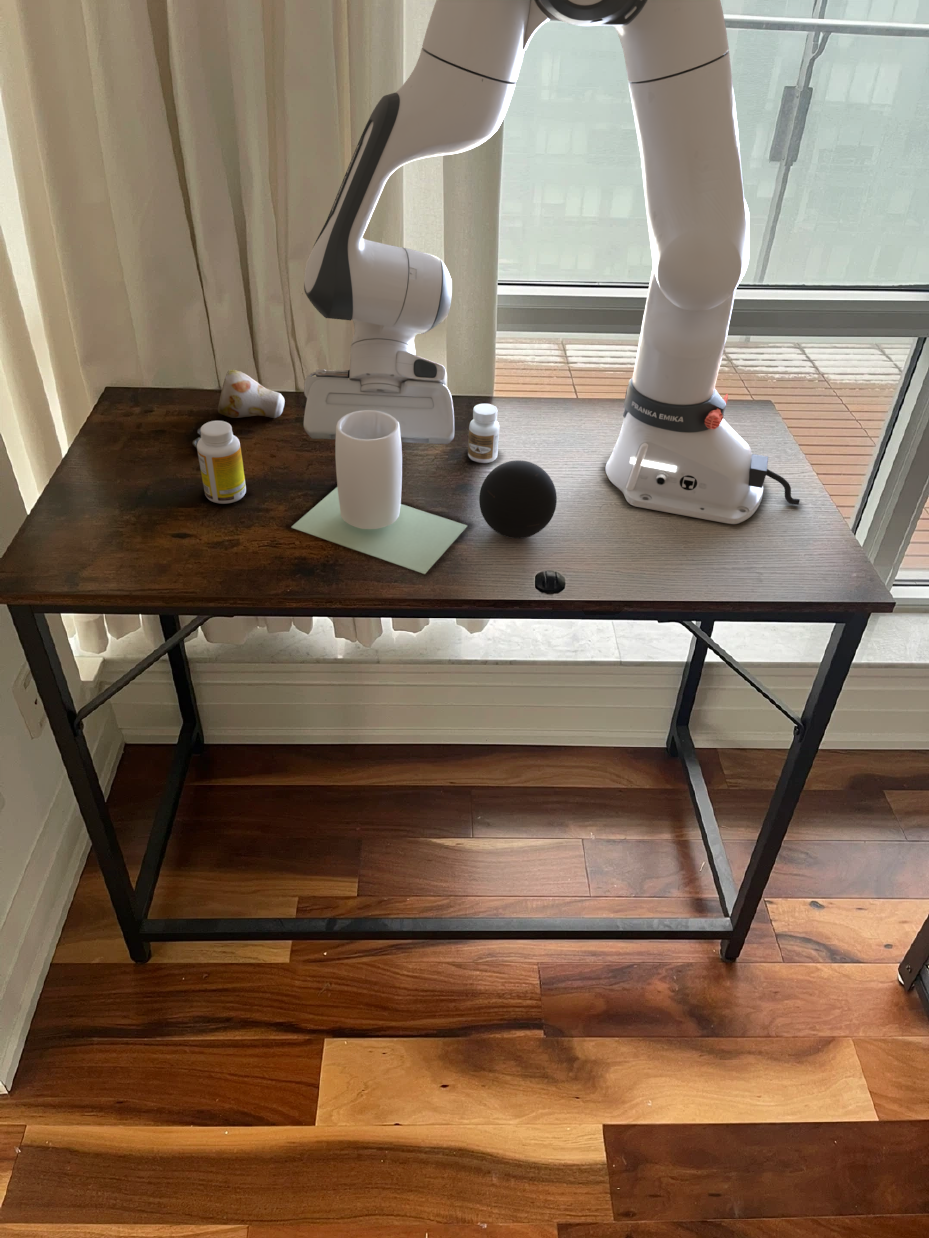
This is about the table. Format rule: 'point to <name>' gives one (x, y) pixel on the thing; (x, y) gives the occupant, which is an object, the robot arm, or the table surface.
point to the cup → (369, 468)
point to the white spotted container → (248, 398)
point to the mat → (385, 534)
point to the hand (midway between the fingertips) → (377, 472)
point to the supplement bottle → (221, 463)
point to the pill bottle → (483, 434)
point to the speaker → (517, 499)
